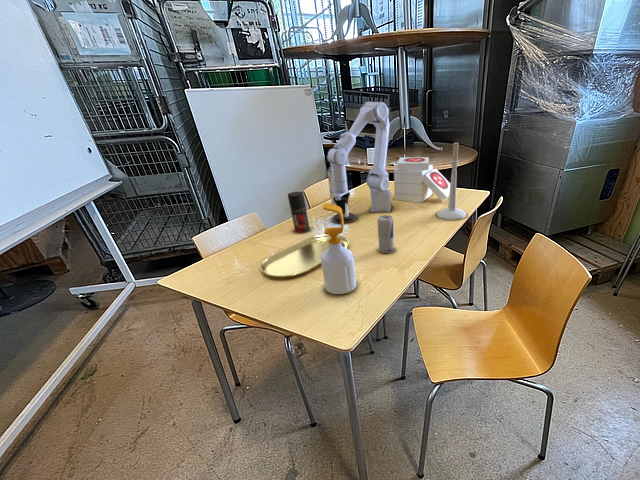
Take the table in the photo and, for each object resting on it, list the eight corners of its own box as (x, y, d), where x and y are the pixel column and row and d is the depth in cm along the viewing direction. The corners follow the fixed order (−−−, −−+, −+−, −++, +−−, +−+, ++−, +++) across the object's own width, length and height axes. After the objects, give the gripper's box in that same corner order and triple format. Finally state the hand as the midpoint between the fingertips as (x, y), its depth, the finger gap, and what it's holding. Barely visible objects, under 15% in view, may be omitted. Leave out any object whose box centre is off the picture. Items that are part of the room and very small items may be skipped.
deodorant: (311, 227, 141) (305, 191, 132) (307, 233, 136) (300, 195, 127) (298, 227, 141) (290, 191, 133) (292, 232, 136) (285, 195, 128)
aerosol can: (332, 203, 168) (326, 161, 157) (346, 203, 168) (341, 160, 158) (331, 207, 162) (325, 164, 152) (345, 207, 163) (340, 163, 152)
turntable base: (358, 215, 152) (358, 212, 152) (354, 223, 143) (354, 221, 143) (335, 215, 153) (334, 212, 153) (329, 223, 144) (329, 221, 143)
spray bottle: (356, 213, 151) (354, 196, 147) (352, 220, 144) (350, 203, 139) (336, 213, 152) (334, 196, 148) (331, 220, 144) (329, 203, 140)
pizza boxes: (445, 206, 160) (447, 166, 151) (389, 199, 171) (387, 162, 161) (456, 195, 175) (459, 158, 165) (404, 190, 186) (404, 155, 176)
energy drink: (396, 248, 121) (395, 215, 115) (391, 254, 117) (389, 221, 111) (382, 246, 123) (380, 214, 116) (376, 252, 119) (374, 219, 112)
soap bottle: (327, 280, 103) (314, 200, 89) (356, 278, 103) (348, 198, 90) (324, 295, 95) (309, 211, 82) (356, 293, 96) (346, 209, 82)
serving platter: (360, 244, 125) (359, 240, 124) (289, 285, 100) (288, 281, 99) (322, 235, 133) (322, 231, 133) (248, 271, 109) (247, 267, 108)
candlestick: (463, 210, 155) (469, 139, 138) (467, 219, 144) (474, 144, 128) (436, 210, 155) (438, 139, 139) (438, 220, 145) (441, 144, 128)
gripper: (334, 175, 145) (338, 206, 153) (326, 184, 133) (330, 217, 141) (350, 175, 145) (353, 206, 152) (343, 184, 133) (347, 217, 140)
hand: (343, 211), depth 146 cm, fingers closed on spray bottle, 4 cm apart
